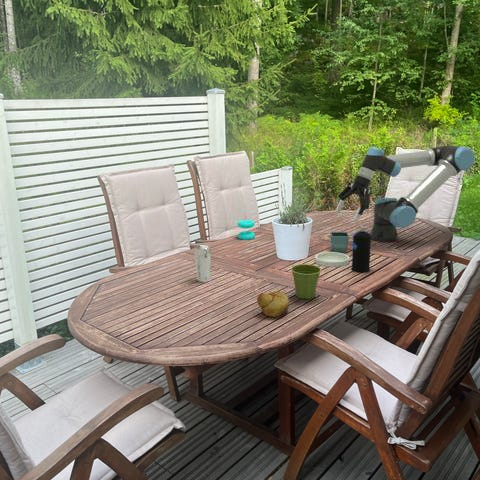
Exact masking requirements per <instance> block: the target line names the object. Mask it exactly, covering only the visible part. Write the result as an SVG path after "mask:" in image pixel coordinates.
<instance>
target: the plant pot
mask: <svg viewBox="0 0 480 480" xmlns="http://www.w3.org/2000/svg"><path fill="white" fill-rule="evenodd" d="M290 271H291V272H292V277H293V282H294V283H293V284H294V291H295V295H296V297H297V298H299V299H301V300H304V299H306V300H311V299H313V298H314V297H315V296H316V292H317V286H318V282H319V278H320V275H321V273H322V271H323V270H322V268H321V267H320V266H318V265H315V264H307V263H306V264H305V263H304V264H303V263H302V264H295V265H293V266H291V267H290Z"/></svg>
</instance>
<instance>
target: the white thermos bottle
mask: <svg viewBox="0 0 480 480" xmlns="http://www.w3.org/2000/svg"><path fill="white" fill-rule="evenodd" d="M211 260H212V253H211V246H210V245H208V244H200V245H196V246H195V247H194V262H195V266H196V270H197V276H196V277H197V278H196V281H197V282H199V283H207V282H210V281H211V280H212V278H211V271H210V269H211Z"/></svg>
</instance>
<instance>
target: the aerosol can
mask: <svg viewBox="0 0 480 480" xmlns="http://www.w3.org/2000/svg"><path fill="white" fill-rule="evenodd" d="M371 238H372V236H371V235H370V232H367V231H366V227H365V226H362V225H361V226H360V229H359V231H357V232H355V233H354V234H353V235H352V254H351V255H352V256H351V257H352V260H351V267H350V269H351V271H352V272H355V273H362V274H363V273H368V272H369V271H371V269H370V265H371V262H370V261H371V245H372V239H371Z"/></svg>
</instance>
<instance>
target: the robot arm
mask: <svg viewBox="0 0 480 480" xmlns="http://www.w3.org/2000/svg"><path fill="white" fill-rule="evenodd" d="M384 154H385V150H384V149H381V148H379V147H376V146H370V147H369V149H368V151H367V152H366V154H365V157H364V159H363V161H362V164H361V166H360V168H359V170H358V172H357V175H356V177H355V179H354V181H353V182H354V183H352V182H348V183H347V185H346V187H344V188H343V190H342V191H341V192H340V193H339V194H337V197H338V198H339V200H338V203H337V207H336V209H335V210H334V211H335V212H336V213H339V214H340V213H341V210H342V208H343V207H344V205H345V201H346V200H347V199H348V198H349V197H351V196H352V195H357V196H358V197H359V204H360V206H359V207H358V209H357V211H356V212H355V215H354V218H353V220H354V221H356V222H359V220H360V218H361V216H362V215H363V214H364V212H365V210H369V209H370V198H371V197H370V196H371V192H372V190H371V189H369V186H370V184H371V180H372V179H373V178H374V176H375V173H376V172H377V173H379V174H384V175H387V176H389V177H392V178H395V177H397V176H398V175H400V172H401V170H402V169H405V168H411V167H420V166H427V167H435V168H434V169H433V170H432V171H431V172H430V173H428V175H427V176H425V178H423V180H422V181H421V182H420V183H418V185H416V186H415V187H414V188H413V189H412V190H411V191H410V192H409V193H408V194H407V195H406V196H401V197H400V198H399V199H398V198H396V197H380V198H376V199H375V200H374V205H373V206H374V210H373V211H374V212H373V224H372V227H371V231H369V234H370V235H371V236H372V238H371V241H376V242H381V243H382V242H383V243H390V242H396V241H397V240H398V238H399V235H398V231H397V228H401V229H402V228H403V229H404V228H408V227H410V226H411V225H413V224H414V222H415V221H416V217H417V214H418V212H419V209H420V207H421V206H422V205H424V203H425V202H426V201H427V200H429V198H430V197H431V196H432V195H433V194H435V192H437V190H439V188H441V187H442V186H443V185H444V184H445V183H446V182H447V181H448V180H449V179H450V178H451V177H456V176H457V175H458V174H460V173H461V171H464V172H465V171H467V170H470V169H471V168H472V167H473V165H474V164H475V163H474V162H475V154H474V151H473V150H472V149H471V148H470V147H468V146H467V147H466V146H463V145H462V146H458V145H448V144H447V145H442V146H436V147H430V148H426V150H422V151H415V152H406V153H399V154H398V153H397V154H390V155H384Z"/></svg>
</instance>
